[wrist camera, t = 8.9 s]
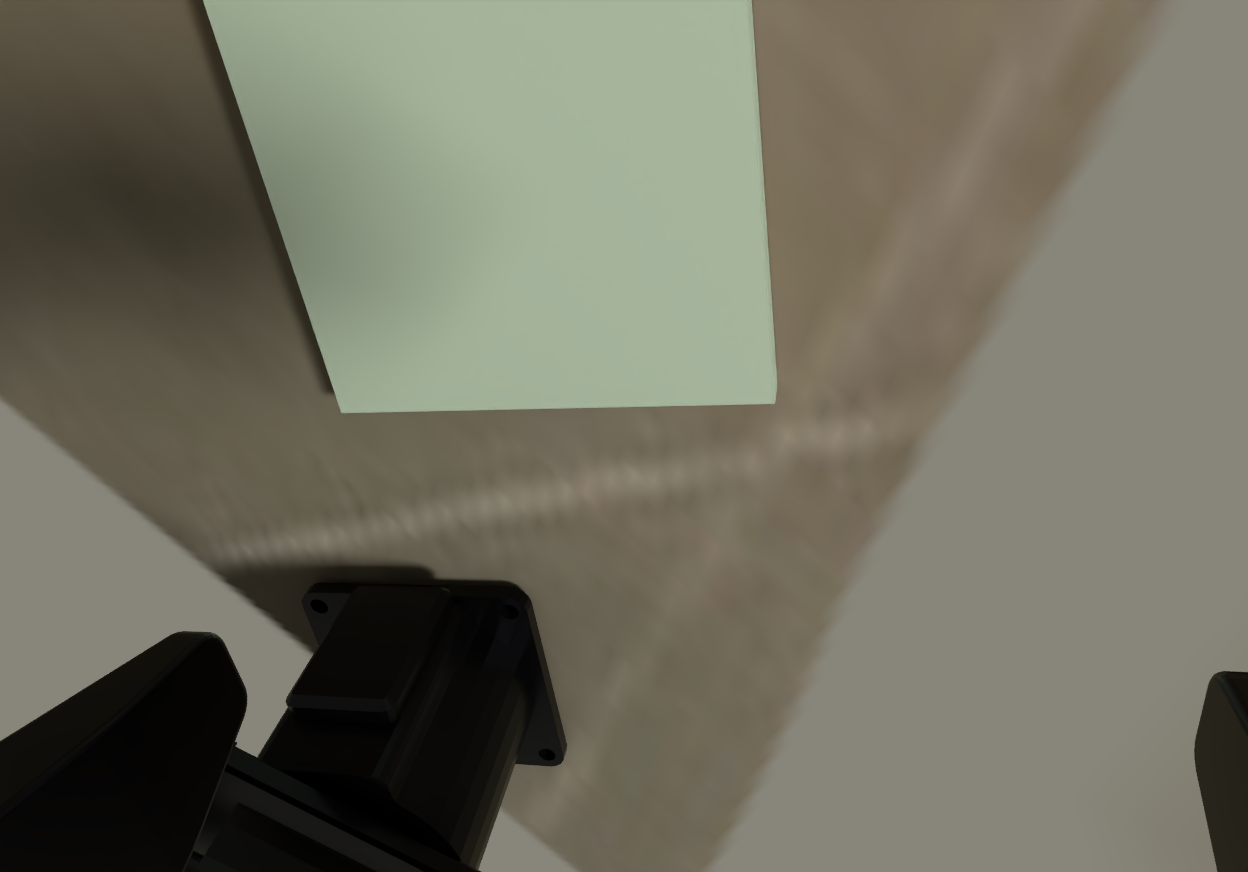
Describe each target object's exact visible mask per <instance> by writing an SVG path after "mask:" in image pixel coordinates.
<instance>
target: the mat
mask: <svg viewBox="0 0 1248 872" xmlns="http://www.w3.org/2000/svg"><path fill="white" fill-rule="evenodd" d="M203 2H204V5H205V8H206V11H207V14H208V17H209V20H210V23H211V26H212V29H213V32H214V35H215V38H216V41H217V44H218V47H219V50H220V53H221V56H222V59H223V62H224V65H225V68H226V71H227V74H228V77H229V80H230V82H231V85H232V88H233V91H234V94H235V97H236V100H237V103H238V106H239V109H240V112H241V115H242V118H243V121H244V124H245V127H246V130H247V133H248V136H249V139H250V142H251V145H252V148H253V151H254V154H255V157H256V160H257V163H258V166H259V169H260V172H261V175H262V178H263V181H264V184H265V187H266V190H267V193H268V196H269V199H270V202H271V205H272V208H273V211H274V213H275V216H276V219H277V222H278V225H279V228H280V231H281V234H282V237H283V240H284V243H285V246H286V249H287V252H288V255H289V258H290V261H291V264H292V267H293V270H294V273H295V276H296V279H297V282H298V285H299V288H300V291H301V294H302V297H303V300H304V303H305V306H306V309H307V312H308V315H309V318H310V321H311V324H312V327H313V330H314V333H315V336H316V339H317V342H318V344H319V347H320V350H321V353H322V356H323V359H324V362H325V365H326V368H327V371H328V374H329V377H330V380H331V383H332V386H333V389H334V392H335V395H336V398H337V401H338V404H339V407H340V410H341V413H365V412H412V411H459V410H505V409H552V408H598V407H645V406H692V405H738V404H775V399H776V391H777V372H776V357H775V342H774V327H773V312H772V298H771V283H770V268H769V253H768V238H767V223H766V208H765V193H764V178H763V163H762V149H761V134H760V119H759V104H758V89H757V74H756V59H755V44H754V29H753V14H752V0H203Z"/></svg>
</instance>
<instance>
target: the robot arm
mask: <svg viewBox="0 0 1248 872" xmlns="http://www.w3.org/2000/svg"><path fill="white" fill-rule="evenodd" d="M322 601H323V602H322ZM302 604H303V607H304V610H305V612H306V615H307V617H308V620H309V622H310V625H311V627H312V629H313V632H314V634H315V637H316V639H317V642H318V644H319V646H318V648H317V650H316V651H315V653H314V654H313V656H312V658H311V659H310V661H309V662H308V664H307V666H306V667H305V669H304V670H303V672H302V674H301V675H300V677H299V679H298V680H297V682H296V683H295V685H294V687H293V688H292V690H291V692H290V693H289V695H288V696H287V699H286V703H287V706H288V708H287V710H286V711H285V713H284V715H283V716H282V718H281V719H280V721H279V723H278V724H277V726H276V728H275V729H274V731H273V732H272V734H271V736H270V737H269V739H268V741H267V742H266V744H265V745H264V747H263V749H262V750H261V752H260V754H259V755H258V757H255V756H253V755H251V754H249V753H247V752H245V751H243V750H241V749H239V748H237V747H236V745H237V742H235V740H236V737H237V735H238V732H239V729H240V727H241V724H242V721H243V719H244V716H245V712H246V707H247V693H246V688H245V686H244V683H243V681H242V679H241V677H240V675H239V673H238V671H237V669H236V666H235V665H234V662H233V660H232V658H231V656H230V654H229V652H228V650H227V648H226V646H225V643H224V642H223V640H222V639H221V638H220V637H219V636H218V635H216V634H214V633H211V632H188V631H183V632H177V633H174V634H172V635H170V636H168V637H167V638H165V639H163V640H162V641H160V642H159V643H157V644H155V645H154V646H152V647H151V648H149V649H147V650H146V651H144V652H143V653H141V654H139V655H138V656H136V657H134V658H133V659H131V660H130V661H128V662H126V663H125V664H123V665H122V666H120V667H119V668H117V669H115V670H114V671H112V672H110V673H109V674H107V675H106V676H104V677H103V678H101V679H99V680H98V681H96V682H94V683H93V684H91V685H90V686H88V687H86V688H85V689H83V690H82V691H80V692H78V693H77V694H75V695H74V696H72V697H70V698H69V699H68V700H66V701H64V702H62V703H61V704H59V705H58V706H56V707H54V708H53V709H51V710H50V711H48V712H47V713H45V714H43V715H42V716H40V717H38V718H37V719H35V720H33V721H32V722H30V723H29V724H27V725H26V726H24V727H22V728H21V729H19V730H17V731H16V732H14V733H13V734H11V735H10V736H8V737H6V738H5V739H3V740H1V741H0V872H481V871H479V870H478V869H479V866H480V863H481V860H482V858H483V855H484V852H485V849H486V846H487V843H488V840H489V837H490V835H491V831H492V829H493V826H494V823H495V820H496V817H497V814H498V812H499V809H500V806H501V803H502V800H503V797H504V794H505V791H506V789H507V786H508V783H509V780H510V777H511V774H512V771H513V768H514V766H515V764H525V765H540V766H557V765H559V764H561V763H562V761H563V760H564V756H565V753H566V750H567V743H566V739H565V735H564V731H563V727H562V723H561V719H560V715H559V711H558V707H557V703H556V699H555V695H554V691H553V687H552V683H551V679H550V675H549V671H548V667H547V663H546V659H545V654H544V650H543V646H542V642H541V638H540V634H539V630H538V626H537V622H536V618H535V614H534V610H533V606H532V602H531V600H530V598H529V596H528V595H527V594H525V593H524V592H523V591H521V590H519V589H517V588H512V587H480V586H438V585H395V584H352V583H316V584H313V585H312V586H310V588H309V589H308V591H307V592H306V594H305V595H304V597H303V599H302ZM507 605H512V606H513V607H515V608H516V609H513V608H510V607H508V606H507ZM1194 752H1195V766H1196V772H1197V777H1198V782H1199V787H1200V791H1201V796H1202V801H1203V806H1204V810H1205V815H1206V820H1207V825H1208V829H1209V834H1210V839H1211V843H1212V848H1213V853H1214V857H1215V862H1216V866H1217V872H1248V672H1230V671H1222V672H1218V673H1216V674H1214V676H1213V677H1212V678H1211V680H1210V682H1209V685H1208V688H1207V692H1206V697H1205V701H1204V705H1203V710H1202V714H1201V718H1200V722H1199V726H1198V730H1197V735H1196V740H1195V749H1194Z"/></svg>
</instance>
